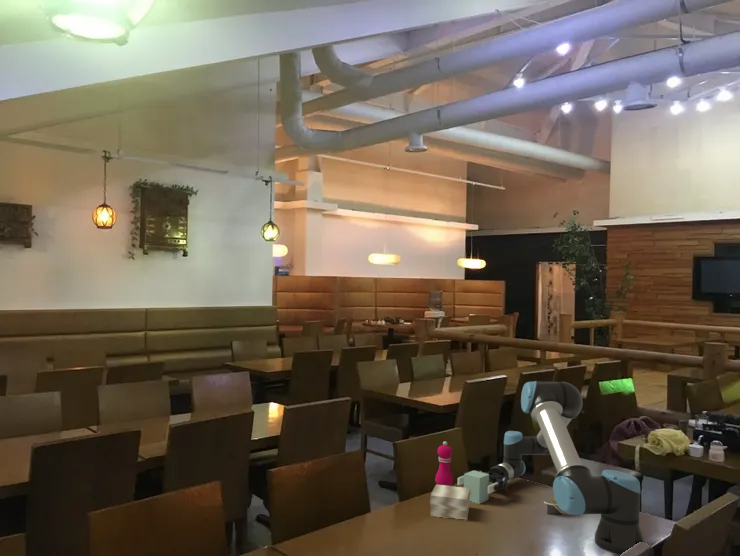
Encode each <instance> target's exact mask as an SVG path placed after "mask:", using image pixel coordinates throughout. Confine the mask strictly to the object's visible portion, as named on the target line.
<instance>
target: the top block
mask: <svg viewBox="0 0 740 556" xmlns="http://www.w3.org/2000/svg"><path fill="white" fill-rule="evenodd" d="M470 491H471V488H464V486H463V487H462V486H455V485H454V486H453V485H451V486H446V485H437V483H436V484H435V486H434V488H433V489H432V491H431V494H429V495H430V497H429V498H430V499H429V500H430V501H429V507H430V508H431V507H439V508H447V509H455V510H463V511H467V508H468V504H469V505H470V502H469V501H470Z"/></svg>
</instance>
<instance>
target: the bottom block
mask: <svg viewBox="0 0 740 556" xmlns="http://www.w3.org/2000/svg"><path fill="white" fill-rule="evenodd" d="M469 509H470V503H469V504H468V508H467V511H463V510H455V509H447V508H439V507H430V517H431V518H439V517H443V518H442V519H448V518H455V519H454V520H458V519H465V520H464V521H468V516H469Z"/></svg>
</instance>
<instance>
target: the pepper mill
mask: <svg viewBox="0 0 740 556" xmlns="http://www.w3.org/2000/svg"><path fill="white" fill-rule="evenodd" d="M437 455H438V462H439V466H438V470H437V472H436V474H435V479H434V481H435V483H436V484H437V485H446V486H453V485H452V484H453V483H454V476H453V473H452V472H451V467H450V465H451V461H452V455H453V448H452V447H451V446H450V445H448V442H447V441H443V442H442V444H441V445H440V446H438V448H437Z"/></svg>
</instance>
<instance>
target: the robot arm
mask: <svg viewBox="0 0 740 556" xmlns="http://www.w3.org/2000/svg"><path fill="white" fill-rule="evenodd" d="M520 395H521V397H520V405H521V406H520V407H521V410H522V412H523V413H524V414H530V416H531V418H532V420H533V421H534V422H535V423H538V426H539V428H540V431H539V432H538V434H537V435H535V436H523V432H521V431H515V430H508V431H505V433H504V437H503V462H502V463H499V464H497V465H495V466H492V467H490V469H489V470H488V471H484V472H483V470H482V469H480V470H477V471H478V472H482V473H486V474H489V483H491V484H489V486H488V493H489V494H491V493H493V492H496V491H501V490H503V491H507V490H508V485H510V481H513V480H515V479H517V478H520V477H521V476H523V475H524V474H525V473H526V468H527V467H526V465H525V461H524V460H523V456H524V455H525V456H529V455H530V456H532V455H533V456H535V455H536V456H539V455H540V456H541V455H542V456H549V455H550V456H551V460H552V462H553V464H554V468H555V470H556V472H557V473H556V475H555V477H554V480H553V483H552V492H553V497H554V498H555V501H556V503H557V505H558V507H559V508H560V509H561V510H562V511H563V512H564V513H565V514H567V515H574V516H581V515H600V520H599V522H598V524H597V528H596V530H595V533H594V543H595V544H596V545H597V546H598V547H599V548H601V549H604V550H606V551H608V552H612V553H616V554H621V553H623V552H625V551H626V550H628V549H629V548H631V547H633V546H634V545H635V544H637V543H639V542H645V539H644V536H643V532H642V528H641V526H640V509H641V508H640V507H641V506H640V504H641V502H640V501H641V483H640V481H639V479H638V478H637V477H636V476H634V475H631V474H629V473H627V472H623V471H619V470H613V469H604V470H602V472H601V476H597V475H595V476H594V475H592V473H591V470H590V469H589V467H588V466H586V465H584V464H583V463H582V462H581V459H580V456H579V454H578V452H577V450H576V447H575V445H574V442H573V440H572V438H571V436H570V432H569V431H568V425H569V423H570V422H571V421H572V419H576V418H577V417H578V416H579V414H580V413H581V411H582V408H583V397H582V393H581V391H579V389H578V388H577V387H576V386H574V385H573V384H571V383H569V382H567V381H537V380H534V381H527V382H525V383H524V384H523V386H522V390H521V394H520ZM468 472H469V471H465V472H463V471H462V472H461V476H459V477H457V484H456V485H457V486H461V485H464V474H466V473H468ZM621 555H622V554H621Z"/></svg>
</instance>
